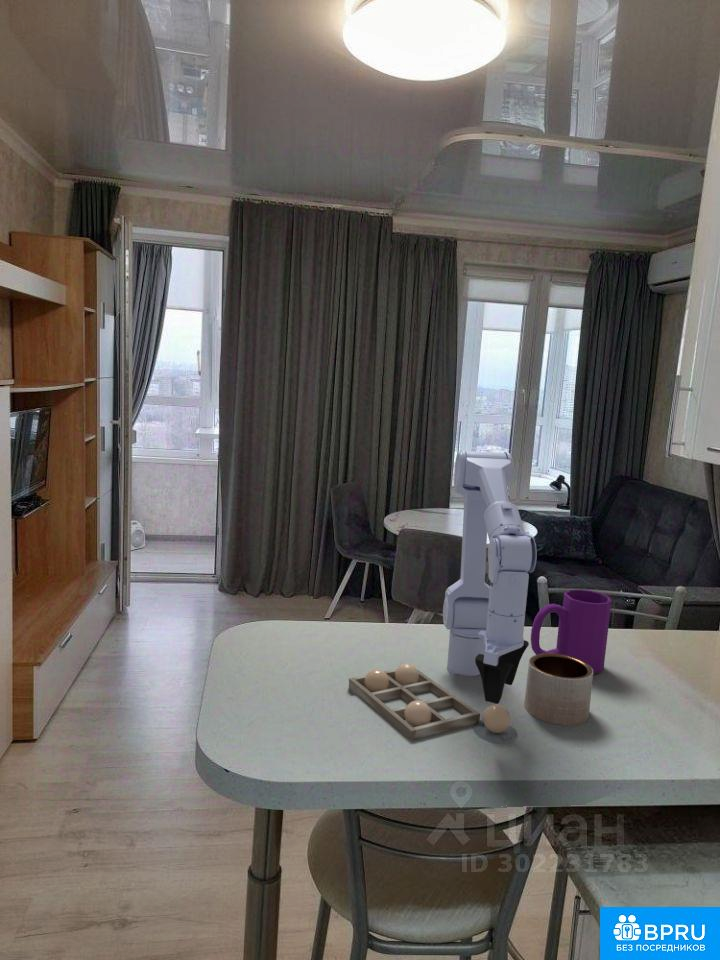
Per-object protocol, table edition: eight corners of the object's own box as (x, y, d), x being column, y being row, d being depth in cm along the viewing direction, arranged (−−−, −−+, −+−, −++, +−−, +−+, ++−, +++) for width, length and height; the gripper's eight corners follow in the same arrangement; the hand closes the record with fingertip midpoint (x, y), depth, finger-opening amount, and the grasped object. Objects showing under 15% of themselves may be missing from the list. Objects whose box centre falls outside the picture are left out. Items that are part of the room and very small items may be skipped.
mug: (611, 676, 139) (619, 604, 137) (536, 675, 137) (543, 602, 135) (591, 657, 148) (599, 589, 146) (521, 656, 146) (527, 587, 144)
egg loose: (496, 722, 115) (499, 697, 114) (515, 735, 111) (517, 709, 110) (476, 727, 113) (478, 702, 112) (494, 741, 109) (496, 714, 108)
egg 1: (380, 686, 127) (381, 663, 126) (393, 696, 123) (394, 673, 122) (359, 690, 125) (360, 667, 124) (371, 701, 121) (373, 677, 120)
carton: (410, 680, 132) (412, 665, 131) (478, 730, 115) (480, 713, 114) (348, 694, 125) (349, 678, 125) (410, 749, 108) (411, 731, 108)
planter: (569, 701, 127) (575, 651, 126) (600, 732, 117) (606, 678, 115) (513, 703, 125) (518, 653, 124) (539, 734, 115) (544, 680, 113)
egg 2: (409, 680, 130) (410, 657, 129) (422, 690, 126) (424, 667, 125) (389, 684, 128) (390, 661, 127) (402, 694, 124) (404, 671, 123)
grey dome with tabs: (496, 725, 117) (497, 713, 117) (526, 745, 111) (527, 733, 111) (463, 734, 113) (464, 722, 113) (492, 756, 107) (493, 743, 107)
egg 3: (420, 718, 116) (422, 693, 115) (435, 730, 112) (437, 705, 111) (398, 723, 114) (399, 698, 113) (413, 736, 110) (415, 710, 109)
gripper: (494, 593, 117) (488, 669, 119) (467, 618, 104) (460, 703, 106) (536, 601, 114) (529, 680, 116) (513, 628, 101) (505, 716, 103)
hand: (499, 692), depth 111 cm, fingers open, 7 cm apart
